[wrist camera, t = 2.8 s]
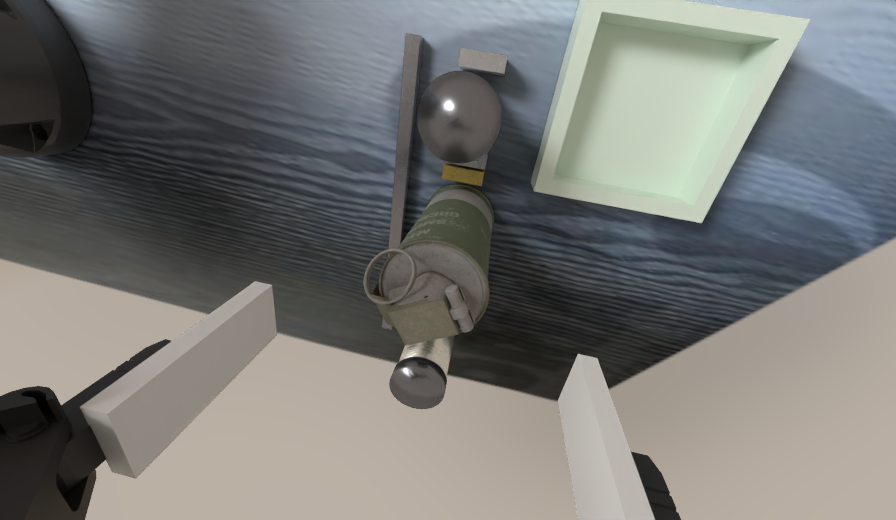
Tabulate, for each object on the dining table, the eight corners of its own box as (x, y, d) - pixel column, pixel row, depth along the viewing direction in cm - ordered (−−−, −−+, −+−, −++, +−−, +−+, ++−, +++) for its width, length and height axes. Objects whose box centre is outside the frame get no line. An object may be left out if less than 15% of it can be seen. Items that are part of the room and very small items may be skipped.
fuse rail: (385, 321, 34) (338, 410, 25) (409, 35, 23) (341, -11, 13) (455, 337, 34) (436, 433, 24) (514, 53, 23) (524, 17, 13)
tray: (530, 182, 26) (533, 191, 24) (578, 1, 21) (590, -14, 18) (680, 210, 25) (701, 223, 23) (769, 30, 20) (810, 19, 18)
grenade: (481, 172, 26) (459, 247, 13) (503, 239, 29) (504, 362, 15) (410, 198, 28) (327, 286, 15) (436, 259, 30) (385, 384, 17)
